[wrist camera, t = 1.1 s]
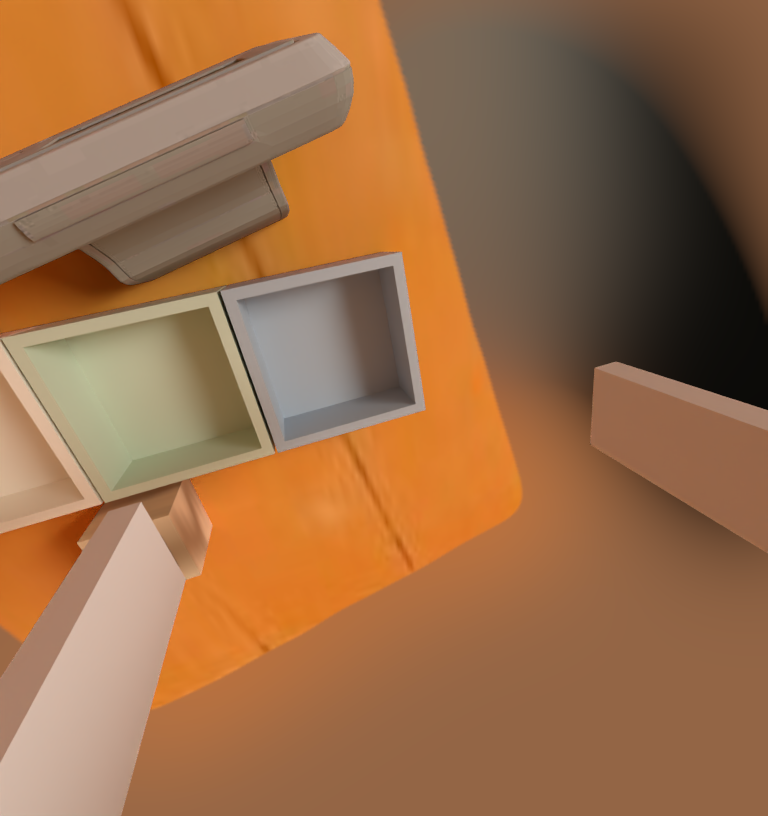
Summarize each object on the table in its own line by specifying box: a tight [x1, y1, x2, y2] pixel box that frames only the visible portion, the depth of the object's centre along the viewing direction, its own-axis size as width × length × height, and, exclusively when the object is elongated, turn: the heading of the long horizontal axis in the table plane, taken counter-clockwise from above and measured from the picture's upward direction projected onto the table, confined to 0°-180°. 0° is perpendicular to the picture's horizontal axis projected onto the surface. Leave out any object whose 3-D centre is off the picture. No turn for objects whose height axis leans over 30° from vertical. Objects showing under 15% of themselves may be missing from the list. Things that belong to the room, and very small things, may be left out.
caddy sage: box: [1, 286, 275, 503], centre depth 22 cm, size 10×10×4 cm
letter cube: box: [77, 479, 212, 580], centre depth 25 cm, size 5×5×5 cm
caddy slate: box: [220, 252, 426, 453], centre depth 24 cm, size 10×10×4 cm
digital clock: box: [0, 33, 353, 285], centre depth 16 cm, size 16×9×11 cm, turn 103°
